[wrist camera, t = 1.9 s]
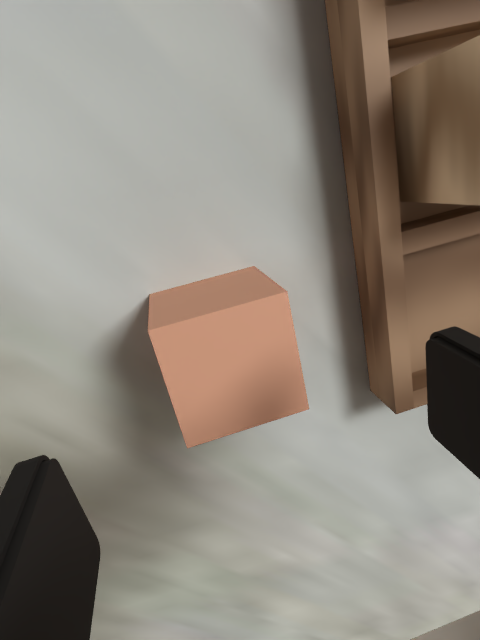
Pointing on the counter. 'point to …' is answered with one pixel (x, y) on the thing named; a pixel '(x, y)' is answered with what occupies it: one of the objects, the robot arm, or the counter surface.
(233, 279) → the brick cube
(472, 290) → the walnut tray
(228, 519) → the counter surface
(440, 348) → the robot arm
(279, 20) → the counter surface
